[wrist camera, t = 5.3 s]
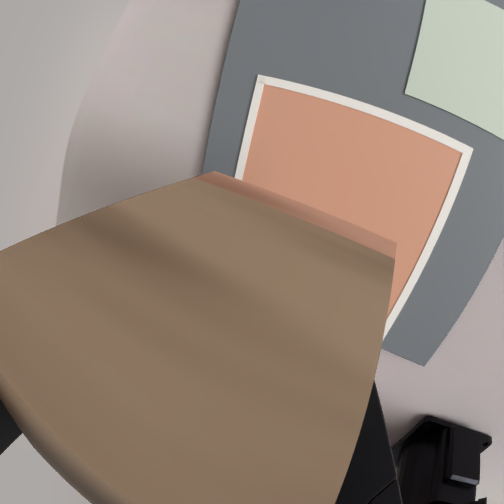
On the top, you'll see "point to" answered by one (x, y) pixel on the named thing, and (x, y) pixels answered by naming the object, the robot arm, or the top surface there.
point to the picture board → (377, 135)
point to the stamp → (195, 345)
